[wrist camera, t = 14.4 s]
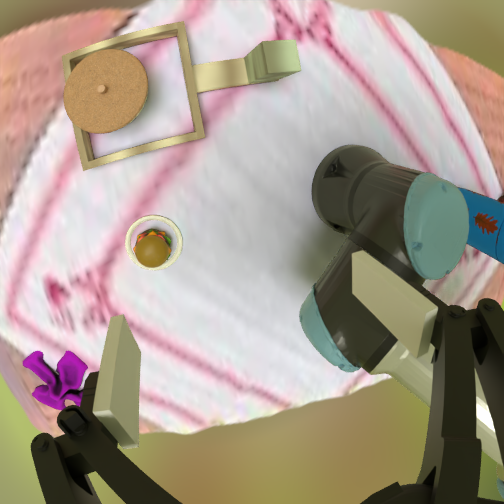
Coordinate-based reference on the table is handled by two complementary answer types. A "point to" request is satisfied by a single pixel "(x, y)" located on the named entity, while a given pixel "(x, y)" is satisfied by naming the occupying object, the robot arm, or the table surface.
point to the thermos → (485, 224)
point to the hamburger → (153, 245)
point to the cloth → (57, 379)
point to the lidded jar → (106, 91)
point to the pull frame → (189, 80)
